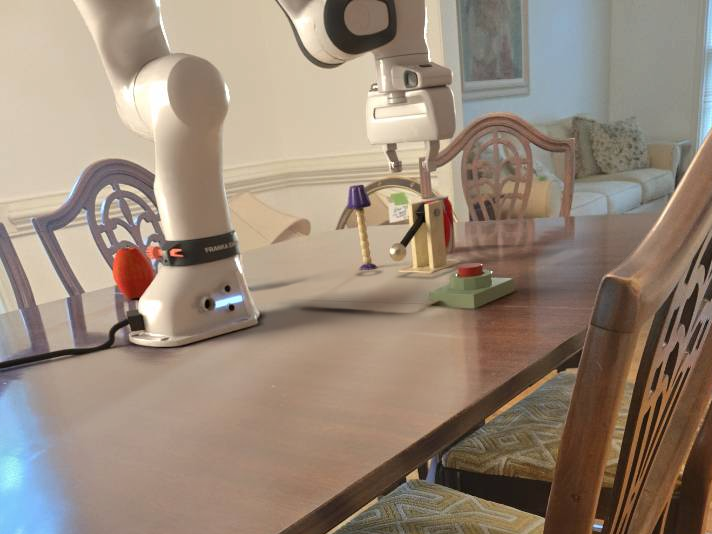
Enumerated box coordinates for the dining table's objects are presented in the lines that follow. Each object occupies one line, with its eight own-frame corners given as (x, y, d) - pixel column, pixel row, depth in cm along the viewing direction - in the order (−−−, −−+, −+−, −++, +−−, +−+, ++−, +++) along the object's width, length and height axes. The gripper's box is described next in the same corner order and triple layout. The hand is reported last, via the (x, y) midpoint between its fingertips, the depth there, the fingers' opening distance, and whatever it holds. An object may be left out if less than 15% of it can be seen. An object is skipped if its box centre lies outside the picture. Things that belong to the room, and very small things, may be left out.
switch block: (474, 308, 122) (473, 283, 120) (429, 305, 127) (427, 280, 125) (513, 291, 130) (513, 267, 128) (469, 289, 135) (468, 265, 133)
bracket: (431, 278, 148) (425, 206, 141) (399, 276, 152) (392, 207, 146) (461, 267, 154) (456, 198, 148) (429, 266, 159) (423, 199, 152)
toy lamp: (353, 276, 158) (341, 187, 150) (361, 271, 162) (349, 184, 154) (375, 274, 157) (364, 185, 148) (382, 270, 160) (372, 182, 152)
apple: (129, 304, 157) (114, 248, 151) (113, 300, 162) (98, 246, 157) (166, 295, 161) (152, 241, 156) (149, 291, 167) (136, 239, 161)
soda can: (421, 261, 165) (415, 200, 159) (425, 255, 171) (420, 196, 165) (453, 258, 163) (449, 197, 157) (457, 253, 169) (453, 193, 163)
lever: (403, 265, 144) (397, 251, 142) (390, 264, 146) (383, 251, 143) (438, 214, 148) (432, 200, 146) (425, 215, 150) (419, 200, 148)
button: (474, 279, 124) (473, 268, 124) (453, 278, 127) (453, 267, 126) (487, 274, 127) (487, 263, 126) (467, 273, 129) (466, 262, 128)
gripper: (352, 86, 130) (363, 175, 137) (427, 73, 116) (435, 174, 122) (382, 83, 133) (391, 170, 140) (459, 70, 119) (465, 168, 125)
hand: (412, 172), depth 131 cm, fingers open, 8 cm apart
